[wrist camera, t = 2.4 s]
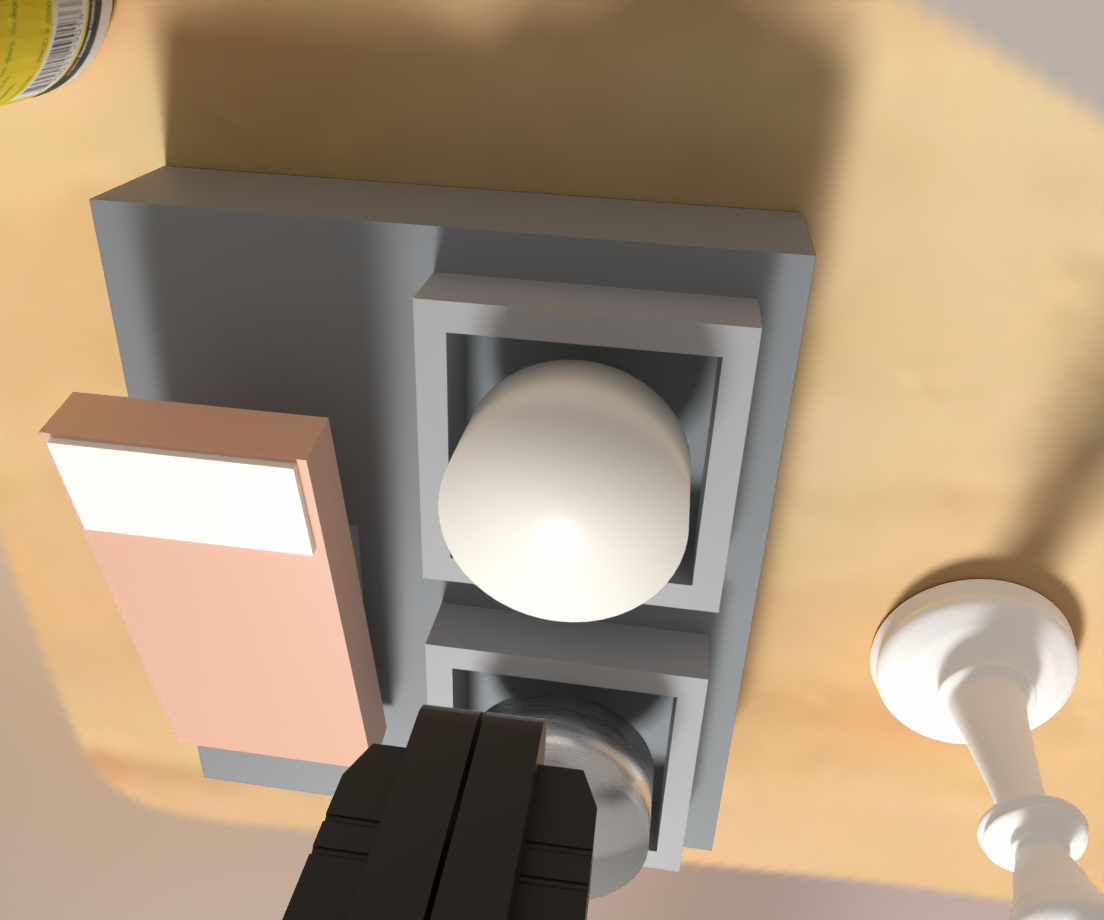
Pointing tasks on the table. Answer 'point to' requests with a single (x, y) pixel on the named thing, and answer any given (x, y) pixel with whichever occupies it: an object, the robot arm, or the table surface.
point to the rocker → (228, 569)
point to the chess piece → (995, 723)
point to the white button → (569, 492)
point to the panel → (453, 395)
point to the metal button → (599, 776)
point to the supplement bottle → (47, 43)
